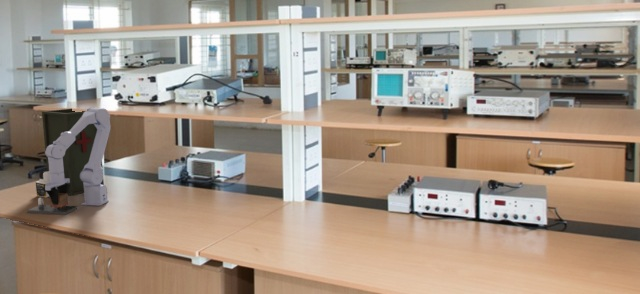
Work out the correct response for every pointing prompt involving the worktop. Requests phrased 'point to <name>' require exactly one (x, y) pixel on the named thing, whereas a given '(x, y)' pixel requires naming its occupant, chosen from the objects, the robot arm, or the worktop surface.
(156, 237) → the worktop surface
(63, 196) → the sleeve
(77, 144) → the first aid box
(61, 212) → the pin board
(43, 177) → the medicine bottle
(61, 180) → the robot arm
